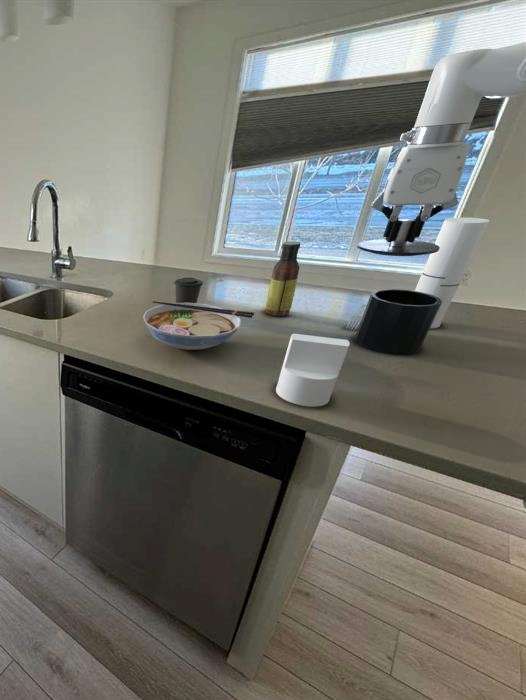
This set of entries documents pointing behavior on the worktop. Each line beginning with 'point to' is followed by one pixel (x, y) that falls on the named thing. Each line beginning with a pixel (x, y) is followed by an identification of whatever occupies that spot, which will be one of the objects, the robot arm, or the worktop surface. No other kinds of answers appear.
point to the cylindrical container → (450, 260)
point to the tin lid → (399, 243)
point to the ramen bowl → (192, 324)
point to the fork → (355, 319)
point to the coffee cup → (187, 290)
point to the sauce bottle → (283, 281)
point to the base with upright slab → (311, 369)
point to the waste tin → (397, 321)
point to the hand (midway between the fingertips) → (399, 240)
